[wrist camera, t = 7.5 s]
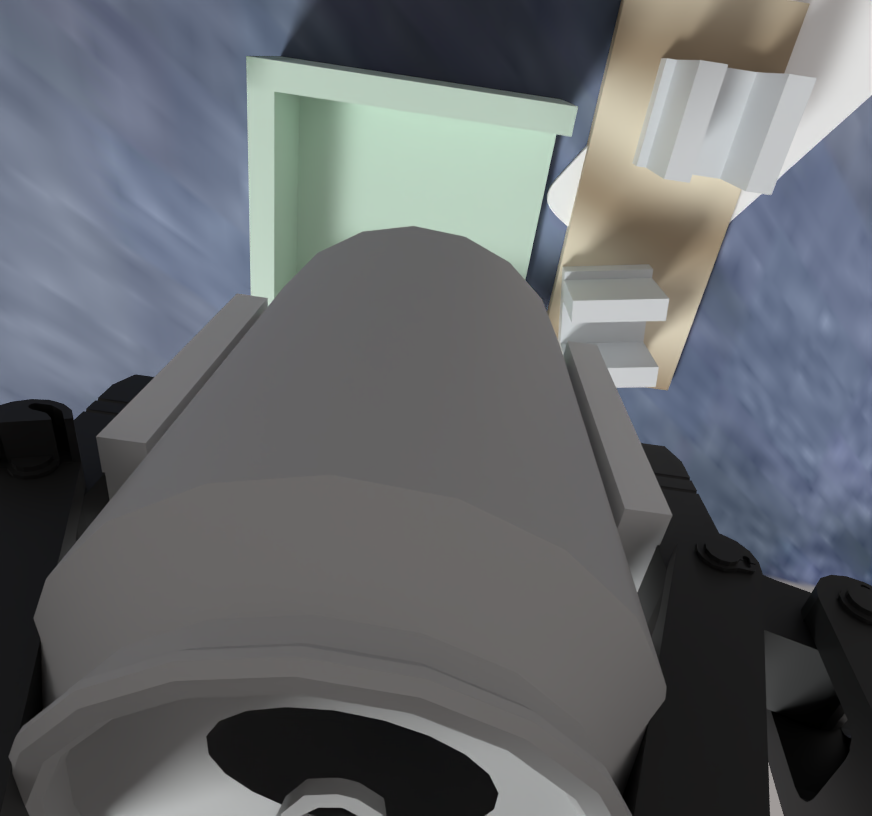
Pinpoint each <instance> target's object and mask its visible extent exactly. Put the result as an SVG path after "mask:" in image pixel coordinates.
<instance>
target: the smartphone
mask: <svg viewBox="0 0 872 816" xmlns="http://www.w3.org/2000/svg"><path fill="white" fill-rule="evenodd" d="M790 1H797V2H803V3H809V4H810V5H809V7H808V10H807V13H806V16H805V18H804V21H803V24H802V26H801V29H800V32H799V35H798V37H797V40H796V43H795V46H794V48H793V51H792V54H791V56H790V59H789V62H788V65H787V67H786V70H785V73H784V74H793V75H800V76H806V77H812V78H817V80H816V82H815V85H814V87H813V90H812V93H811V95H810V98H809V100H808V103H807V105H806V108H805V110H804V113H803V115H802V118H801V121H800V123H799V126H798V128H797V131H796V133H795V136H794V138H793V141H792V143H791V146H790V149H789V151H788V154H787V156H786V159H785V161H784V164H783V166H782V169H781V171H780V174H779V177H778V179H779V178H780V177H781V176H782V175H783V174H784V173H785V172H786V171H787V170H789V169H790V168H791V167H792V166H793V165H794V164H795V163H796V162H797V161H799V160H800V159H801V158H802V157H803V156H804V155H805V154H806V153H808V152H809V151H810V150H811V149H812V148H813V147H814V146H815V145H816V144H818V143H819V142H820V141H821V140H822V139H823V138H824V137H825V136H826V135H828V134H829V133H830V132H831V131H832V130H833V129H834V128H835V127H837V126H838V125H839V124H840V123H841V122H842V121H843V120H844V119H845V118H847V117H848V116H849V115H850V114H851V113H852V112H853V111H854V110H855V109H857V108H858V107H859V106H860V105H861V104H862V103H863V102H864V101H865V100H867V99H868V98H869V97H870V96H871V95H872V0H790ZM587 147H588V146H587V145H586V146H585V147H584V149H583V150H582V151H581V152H580V153H579V154H578V155H577V156H576V157H575V159H574V160H573V161H572V162H571V163H570V164H569V165H568V166H567V167H566V168H565V169H564V170H563V172H562V173H561V174H560V175H559V176H558V177H557V178H556V179H555V180H554V182H553V183H552V184H551V186H550V188H549V190H548V193H547V202H548V205H549V207H550V208H551V210H552V211H553V212H554V214H555V215H556V216H557V217H558V218H559V219H560V220H561V221H562V222H563V223H565V224H566V225H567V226H569V222H570V218H571V213H572V209H573V205H574V201H575V197H576V193H577V188H578V184H579V180H580V176H581V172H582V168H583V164H584V159H585V155H586V151H587ZM760 195H761V194H760V193H753V192H747V191H744V190H741V192H740V195H739V198H738V200H737V203H736V206H735V209H734V211H733V214H732V217H731V219H730V222H731V221H732V220H733V219H734V218H735V217H736V216H737V215H738V214H739V213H741V212H742V211H743V210H744V209H745V208H746V207H747V206H748V205H750V204H751V203H752V202H753V201H754V200H755V199H756V198H757V197H758V196H760Z"/></svg>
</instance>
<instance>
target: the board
mask: <svg viewBox="0 0 872 816" xmlns="http://www.w3.org/2000/svg"><path fill="white" fill-rule="evenodd" d="M809 5H810V4H809V3H803V2H797V1H790V0H621V4H620V8H619V12H618V17H617V21H616V25H615V29H614V33H613V38H612V42H611V46H610V50H609V54H608V59H607V63H606V67H605V71H604V75H603V80H602V84H601V88H600V92H599V96H598V101H597V105H596V109H595V113H594V117H593V122H592V126H591V130H590V134H589V138H588V143H587V146H588V147H587V151H586V155H585V159H584V164H583V168H582V172H581V176H580V180H579V184H578V188H577V193H576V197H575V201H574V205H573V209H572V213H571V218H570V222H569V226H568V227H567V231H566V235H565V239H564V243H563V248H562V252H561V256H560V260H559V264H558V269H557V273H556V277H555V281H554V285H553V290H552V294H551V298H550V302H549V306H548V311H547V313H548V316H549V319H550V321H551V324H552V326H553V329H554V331H555V334H556V336H557V339H558V332H559V316H560V300H561V283H562V267H564V266H602V265H639V264H649V265H650V266H651V267H652V269H653V275H652V278H653V280H654V281H655V282H656V283H657V284H658V286H659V287H660V288H661V289H662V290H663V292H664V293H665V294H666V295H667V297H668V298H669V304H668V310H667V317H666V321H646V326H645V333H644V341H643V342H644V344H645V345H646V347H647V349H648V350H649V352H650V354H651V355H652V357H653V359H654V360H655V362H656V363H657V365H658V367H659V369H658V375H657V382H656V387H648V388H655V389H662V390H668V388H669V385H670V383H671V380H672V377H673V374H674V372H675V369H676V366H677V364H678V361H679V358H680V355H681V353H682V350H683V347H684V345H685V342H686V339H687V336H688V334H689V331H690V328H691V325H692V323H693V320H694V317H695V315H696V312H697V309H698V306H699V304H700V301H701V298H702V296H703V293H704V290H705V287H706V285H707V282H708V279H709V277H710V274H711V271H712V268H713V266H714V263H715V260H716V258H717V255H718V252H719V249H720V247H721V244H722V241H723V239H724V236H725V233H726V230H727V228H728V225H729V222H730V219H731V217H732V214H733V211H734V209H735V206H736V203H737V200H738V198H739V195H740V192H741V190H742V189H740V188H738V187H736V186H734V185H732V184H730V183H728V182H725V181H723V180H721V179H718V178H711V177H705V176H698V175H692V177H691V180H690V183H687V182H680V181H674V180H667V179H663V178H662V177H660V176H658V175H657V174H655V173H654V172H652V171H650V170H649V169H647V168H645V167H638V166H635V165H634V164H632V162H633V159H634V155H635V152H636V148H637V144H638V141H639V137H640V133H641V130H642V126H643V123H644V119H645V115H646V112H647V108H648V105H649V101H650V97H651V94H652V90H653V86H654V83H655V79H656V76H657V72H658V68H659V65H660V61H661V58H669V59H675V60H703V61H710V62H716V63H723V64H728V67H727V68H733V69H740V70H746V71H752V72H762V73H782V74H784V73H785V70H786V67H787V65H788V62H789V59H790V56H791V54H792V51H793V48H794V46H795V43H796V40H797V37H798V35H799V32H800V29H801V26H802V24H803V21H804V18H805V16H806V13H807V10H808V7H809Z"/></svg>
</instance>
